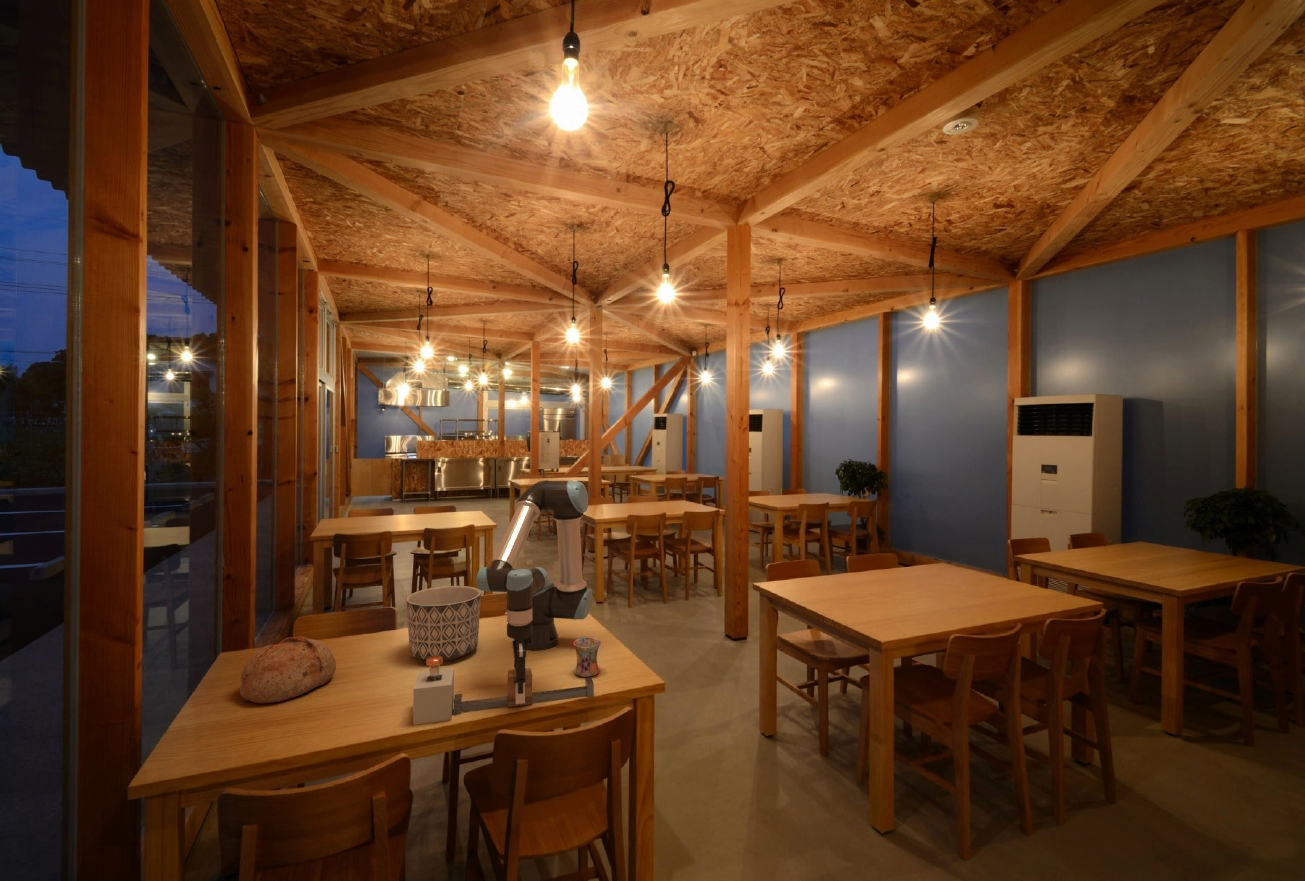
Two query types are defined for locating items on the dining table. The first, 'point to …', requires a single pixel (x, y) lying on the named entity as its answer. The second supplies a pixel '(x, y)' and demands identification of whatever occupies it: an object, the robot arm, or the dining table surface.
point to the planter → (443, 621)
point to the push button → (434, 666)
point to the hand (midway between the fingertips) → (519, 698)
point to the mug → (586, 656)
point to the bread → (286, 670)
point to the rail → (536, 697)
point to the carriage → (513, 687)
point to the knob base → (433, 697)
